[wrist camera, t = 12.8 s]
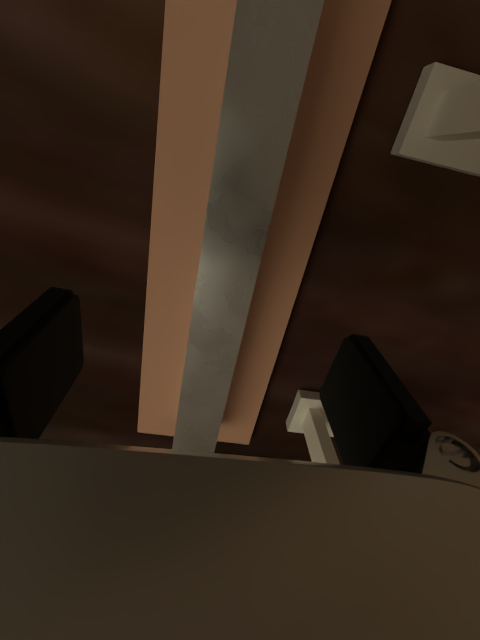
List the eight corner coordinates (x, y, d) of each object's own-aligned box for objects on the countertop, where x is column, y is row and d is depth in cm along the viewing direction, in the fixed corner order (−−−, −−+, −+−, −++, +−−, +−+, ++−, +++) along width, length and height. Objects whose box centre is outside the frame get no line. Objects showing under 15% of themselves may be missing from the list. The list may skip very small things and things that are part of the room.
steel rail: (241, -13, 13) (245, -59, 10) (310, 8, 14) (331, -31, 11) (177, 420, 26) (171, 452, 23) (214, 424, 26) (213, 456, 23)
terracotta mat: (175, -90, 13) (172, -105, 12) (391, -18, 14) (400, -27, 13) (139, 424, 27) (137, 431, 26) (248, 437, 28) (248, 444, 27)
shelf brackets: (423, 67, 15) (985, -197, 4) (554, 106, 16) (1300, -13, 5) (285, 422, 27) (326, 611, 16) (366, 432, 28) (459, 617, 17)
